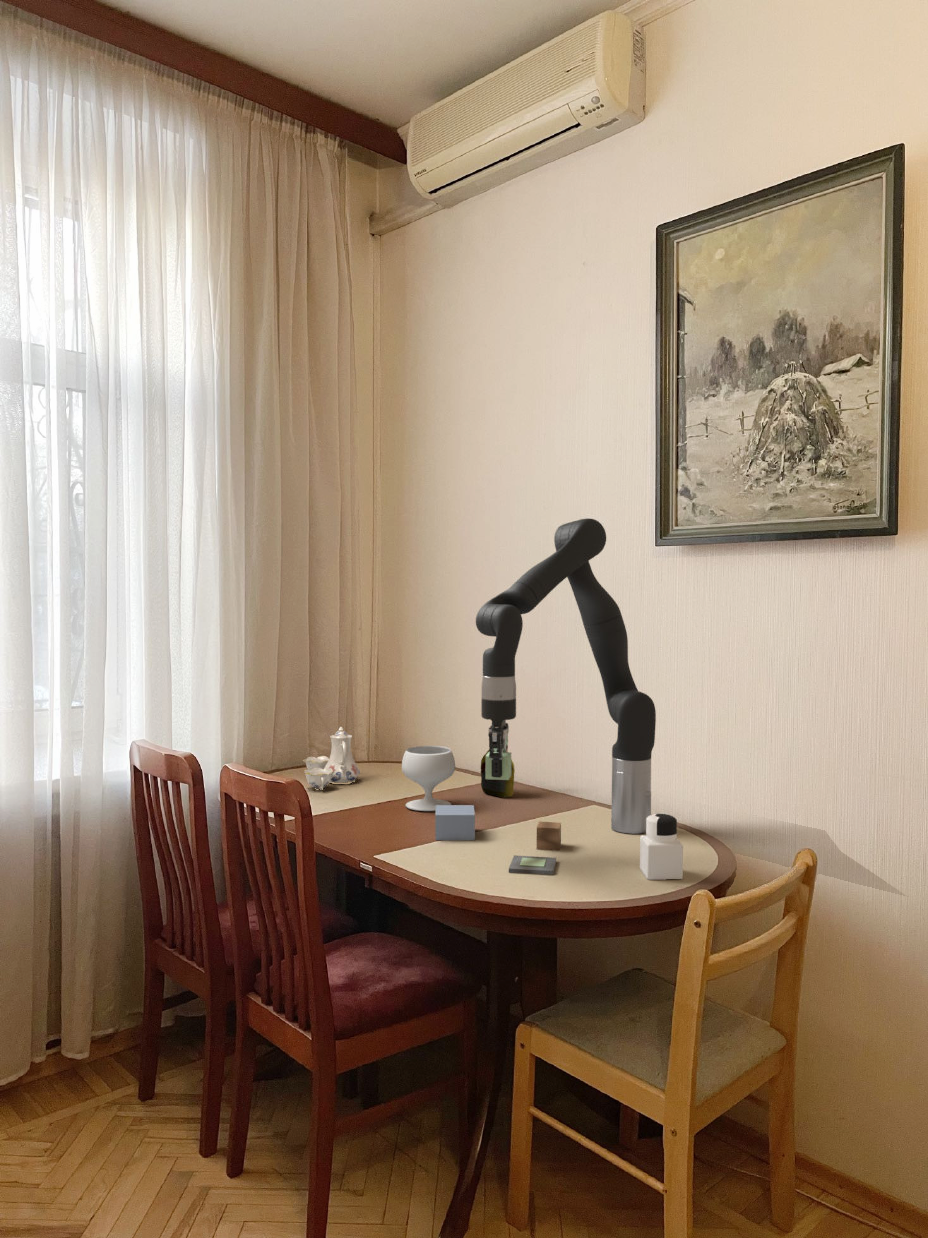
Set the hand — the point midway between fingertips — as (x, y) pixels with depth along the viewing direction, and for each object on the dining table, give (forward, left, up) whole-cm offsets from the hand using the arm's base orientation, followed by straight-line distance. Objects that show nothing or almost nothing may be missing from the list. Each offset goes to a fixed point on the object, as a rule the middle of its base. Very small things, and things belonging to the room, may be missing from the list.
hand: (498, 773), depth 202 cm
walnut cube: (-10, -6, -17) cm, 21 cm away
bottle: (+8, -52, -18) cm, 56 cm away
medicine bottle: (-34, +9, -18) cm, 40 cm away
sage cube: (0, 0, -1) cm, 1 cm away
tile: (-8, +9, -17) cm, 21 cm away
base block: (+12, -12, -18) cm, 24 cm away
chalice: (+24, -36, -18) cm, 47 cm away
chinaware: (+58, -59, -18) cm, 85 cm away
